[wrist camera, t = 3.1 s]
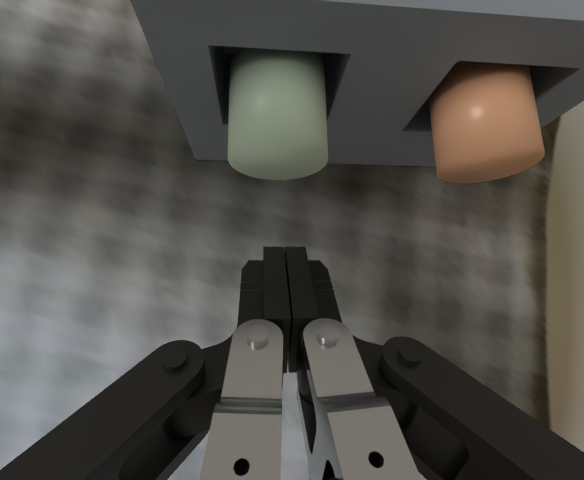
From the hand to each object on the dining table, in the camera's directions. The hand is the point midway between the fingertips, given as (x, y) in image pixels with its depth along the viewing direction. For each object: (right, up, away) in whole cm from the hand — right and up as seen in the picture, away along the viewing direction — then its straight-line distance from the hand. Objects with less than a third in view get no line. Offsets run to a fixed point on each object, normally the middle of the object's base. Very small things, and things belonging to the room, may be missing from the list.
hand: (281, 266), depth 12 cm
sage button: (0, +6, +4) cm, 7 cm away
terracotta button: (+8, +6, +5) cm, 11 cm away
